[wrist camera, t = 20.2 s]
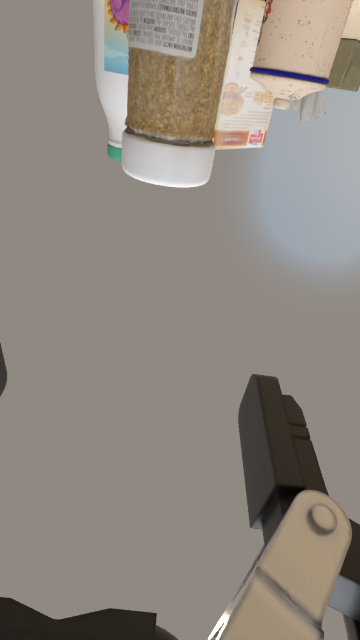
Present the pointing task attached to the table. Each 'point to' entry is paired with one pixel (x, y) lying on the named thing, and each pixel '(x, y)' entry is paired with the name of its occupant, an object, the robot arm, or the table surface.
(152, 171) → the sprinkles bottle
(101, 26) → the milk bottle
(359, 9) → the table surface
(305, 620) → the robot arm
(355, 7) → the table surface
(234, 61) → the coffeecake box
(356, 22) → the table surface
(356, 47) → the tissue box
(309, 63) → the teacup with lid
